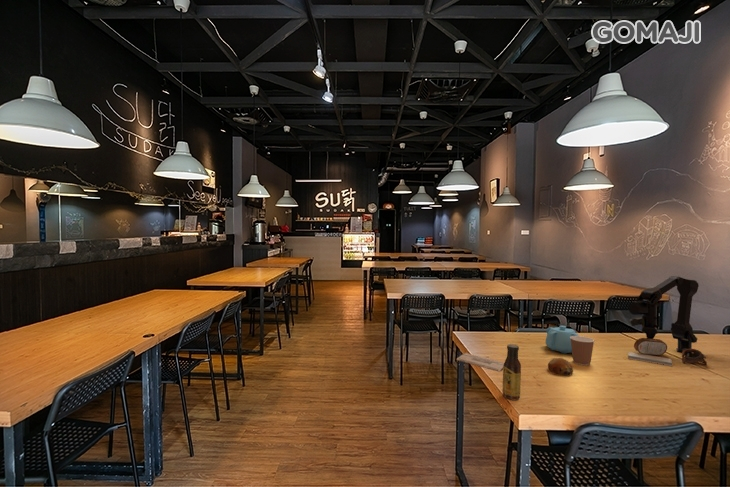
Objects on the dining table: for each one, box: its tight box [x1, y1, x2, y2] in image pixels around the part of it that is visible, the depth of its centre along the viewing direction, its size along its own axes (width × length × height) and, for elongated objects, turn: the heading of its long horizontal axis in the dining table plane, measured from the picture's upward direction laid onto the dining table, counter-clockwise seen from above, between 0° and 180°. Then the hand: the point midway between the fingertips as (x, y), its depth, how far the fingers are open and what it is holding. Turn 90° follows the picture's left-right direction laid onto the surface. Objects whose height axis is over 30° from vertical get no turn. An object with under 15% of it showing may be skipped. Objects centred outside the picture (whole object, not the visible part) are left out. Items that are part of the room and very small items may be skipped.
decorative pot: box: [544, 325, 580, 355], centre depth 190 cm, size 16×16×14 cm
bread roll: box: [547, 357, 574, 377], centre depth 159 cm, size 10×10×8 cm
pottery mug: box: [681, 348, 708, 366], centre depth 172 cm, size 12×10×8 cm
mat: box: [627, 351, 673, 367], centre depth 177 cm, size 12×17×1 cm
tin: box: [633, 337, 668, 356], centre depth 183 cm, size 15×3×8 cm, turn 84°
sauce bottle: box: [502, 343, 522, 401], centre depth 132 cm, size 7×6×20 cm
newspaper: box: [456, 352, 505, 373], centre depth 170 cm, size 23×12×2 cm, turn 46°
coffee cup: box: [570, 335, 595, 366], centre depth 170 cm, size 10×10×12 cm
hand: (649, 343), depth 186 cm, fingers closed
